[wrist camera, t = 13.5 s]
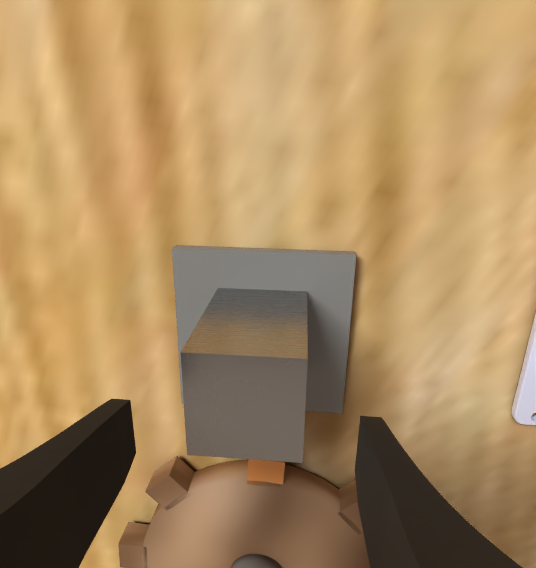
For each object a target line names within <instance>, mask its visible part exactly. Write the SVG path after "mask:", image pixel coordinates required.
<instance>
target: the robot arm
mask: <svg viewBox="0 0 536 568" xmlns="http://www.w3.org/2000/svg"><path fill="white" fill-rule="evenodd" d="M534 413H536V314H535V318H534V322H533V326H532V330H531V334H530V338H529V342H528V346H527V350H526V354H525V358H524V362H523V366H522V370H521V374H520V378H519V383H518V387H517V391H516V395H515V399H514V403H513V407H512V411H511V415H512V416H513V418H514V419H515V421H516V422H518V423H519V424H523V425H536V416H532V414H534ZM135 454H136V447H135V438H134V429H133V420H132V411H131V402H130V400H122V399H111V400H109V401H107V402H106V403H104V404H103V405H101V406H100V407H98V408H97V409H95V410H94V411H92V412H91V413H89V414H88V415H86V416H85V417H83V418H82V419H80V420H79V421H77V422H76V423H74V424H73V425H71V426H70V427H69V428H67V429H66V430H64V431H63V432H61V433H60V434H58V435H57V436H55V437H53V438H52V439H50V440H49V441H47V442H45V443H44V444H42V445H40V446H39V447H37V448H36V449H34V450H32V451H31V452H29V453H28V454H26V455H24V456H23V457H21V458H19V459H17V460H16V461H14V462H12V463H10V464H8V465H7V466H5V467H3V468H1V469H0V568H79V566H80V564H81V562H82V560H83V558H84V556H85V554H86V552H87V550H88V548H89V547H90V545H91V543H92V541H93V539H94V537H95V536H96V534H97V532H98V530H99V528H100V527H101V525H102V523H103V521H104V519H105V518H106V516H107V514H108V512H109V510H110V508H111V507H112V505H113V503H114V501H115V499H116V497H117V496H118V494H119V492H120V490H121V488H122V486H123V484H124V482H125V480H126V477H127V475H128V472H129V470H130V467H131V465H132V462H133V459H134V457H135ZM355 478H356V491H357V502H358V508H359V513H360V518H361V524H362V529H363V534H364V539H365V544H366V549H367V554H368V559H369V564H370V568H522V567H521V566H520V565H518V564H517V563H516V562H514V561H513V560H512V559H511V558H509V557H508V556H507V555H505V554H504V553H503V552H502V551H500V550H499V549H498V548H497V547H496V546H494V545H493V544H492V543H491V542H490V541H489V540H487V539H486V538H485V537H484V536H483V535H482V534H480V533H479V532H478V531H477V530H476V529H475V528H474V527H473V526H471V525H470V524H469V523H468V522H467V521H466V520H465V519H464V518H463V517H462V516H461V515H460V514H459V513H458V512H457V511H456V510H455V509H454V508H453V507H452V506H451V505H450V504H449V503H448V502H447V501H446V500H445V499H444V498H443V497H442V496H441V495H440V493H439V492H438V491H437V490H436V489H435V488H434V487H433V485H432V484H431V483H430V482H429V481H428V480H427V478H426V477H425V476H424V475H423V474H422V472H421V471H420V470H419V469H418V467H417V466H416V465H415V463H414V462H413V461H412V460H411V458H410V457H409V456H408V454H407V453H406V452H405V450H404V449H403V448H402V446H401V445H400V443H399V442H398V441H397V439H396V438H395V436H394V435H393V433H392V432H391V430H390V429H389V427H388V426H387V424H386V423H385V421H384V420H383V419H382V418H381V417H367V416H361V417H360V426H359V436H358V445H357V455H356V464H355Z"/></svg>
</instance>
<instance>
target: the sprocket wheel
mask: <svg viewBox="0 0 536 568" xmlns="http://www.w3.org/2000/svg"><path fill="white" fill-rule="evenodd" d="M146 493H147V494H148V495H150V496H151V497H152V498H153V499H154V500H155V501H156V502H157V503H159V504H158V506H157V509H156V511H155V513H154V516H153V518H152V521H151V523H150V525H149V524H141V523H133V522H128V524H127V526H126V529H125V531H124V533H123V535H122V537H121V539H120V542H119V557H120V567H124V568H370V564H369V559H368V554H367V549H366V544H365V539H364V534H363V529H362V524H361V518H360V513H359V508H358V502H357V491H356V479H355V480H354V481H352V482H350V483H348V484H347V485H345V486H343V487H341V488H340V489H337V488H336V487H335V486H333V485H332V484H330V483H329V482H327V481H326V480H324V479H322V478H320V477H318V476H316V475H314V474H312V473H310V472H307V471H305V470H302V469H300V468H296V467H293V466H289V465H286V464H285V462H283V461H268V460H254V459H248V460H242V461H231V462H225V463H219V464H216V465H212V466H208V467H205V468H203V469H201V470H198V471H196V472H194V471H193V470H192V469H191V468H190V467H189V466H188V465H186V464H185V463H184V462H183V461H182V460H181V459H180V458H179V457H178V456H176V457H175V458H173V459H172V460H170V461H169V462H167V463H166V464H165V465H163V466H162V467H160V468H159V469H158V470H156V471H155V472H154V474H153V476H152V478H151V481H150V483H149V485H148V487H147V489H146Z"/></svg>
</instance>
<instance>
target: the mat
mask: <svg viewBox="0 0 536 568" xmlns="http://www.w3.org/2000/svg"><path fill="white" fill-rule="evenodd" d="M172 255H173V270H174V286H175V302H176V318H177V334H178V350H179V365H180V381H181V397H182V403H184V398H183V383H182V368H181V353H180V352H181V351H182V349H183V347H184V345H185V344H186V342H187V340H188V339H189V337H190V335H191V333H192V332H193V330H194V328H195V326H196V325H197V323H198V321H199V320H200V318H201V316H202V314H203V313H204V311H205V309H206V308H207V306H208V304H209V302H210V301H211V299H212V297H213V296H214V294H215V292H216V290H217V289H218V288H233V289H259V290H285V291H307V334H308V363H307V385H306V406H305V411H312V412H327V413H343V401H344V390H345V379H346V367H347V356H348V344H349V333H350V321H351V310H352V299H353V287H354V276H355V264H356V254H355V252H347V251H319V250H291V249H263V248H235V247H207V246H179V245H176V246H175V247H174V248H172Z"/></svg>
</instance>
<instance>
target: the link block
mask: <svg viewBox="0 0 536 568" xmlns="http://www.w3.org/2000/svg"><path fill="white" fill-rule="evenodd" d="M180 353H181V368H182V383H183V398H184V413H185V428H186V443H187V455H197V456H211V457H225V458H240V459H254V460H268V461H283V462H297V463H303V449H304V428H305V406H306V385H307V363H308V334H307V291H285V290H259V289H233V288H218V289H217V290H216V292H215V294H214V296H213V297H212V299H211V301H210V302H209V304H208V306H207V308H206V309H205V311H204V313H203V314H202V316H201V318H200V320H199V321H198V323H197V325H196V326H195V328H194V330H193V332H192V333H191V335H190V337H189V339H188V340H187V342H186V344H185V345H184V347H183V349H182V351H181V352H180Z"/></svg>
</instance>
